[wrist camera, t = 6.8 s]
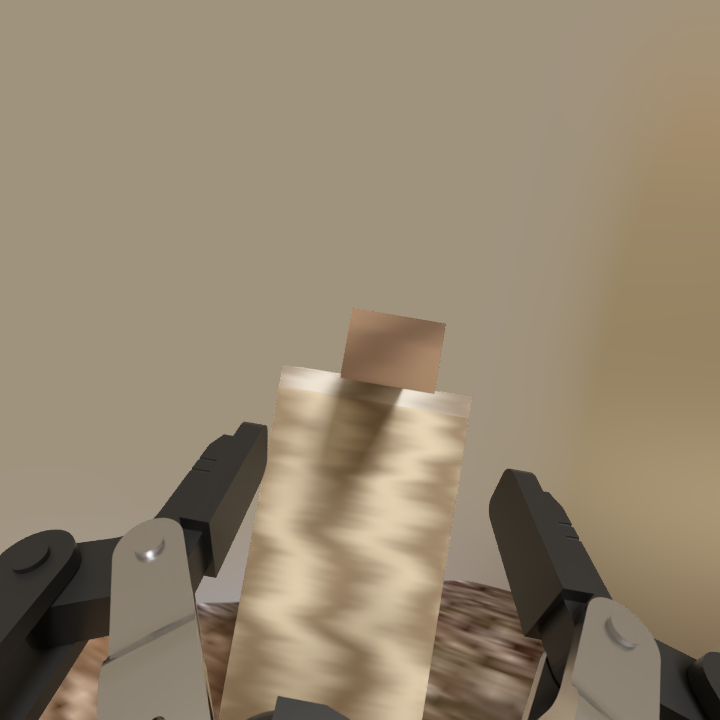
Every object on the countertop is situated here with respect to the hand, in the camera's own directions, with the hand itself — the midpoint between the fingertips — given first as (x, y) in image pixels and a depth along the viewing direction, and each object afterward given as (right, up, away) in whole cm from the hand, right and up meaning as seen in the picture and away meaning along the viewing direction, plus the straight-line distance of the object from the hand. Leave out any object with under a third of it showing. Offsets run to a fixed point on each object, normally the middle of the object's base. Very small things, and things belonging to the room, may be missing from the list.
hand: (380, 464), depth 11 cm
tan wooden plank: (+1, +2, +15) cm, 15 cm away
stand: (-5, -30, +19) cm, 36 cm away
